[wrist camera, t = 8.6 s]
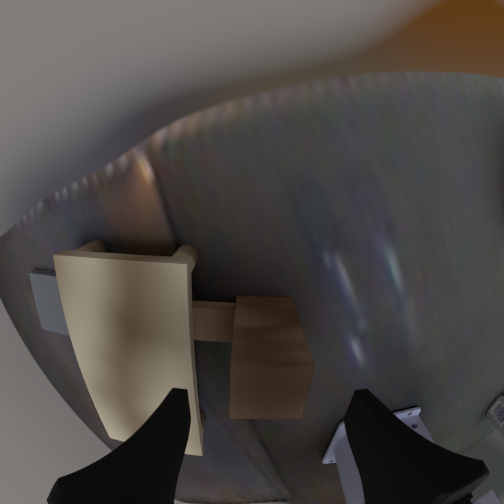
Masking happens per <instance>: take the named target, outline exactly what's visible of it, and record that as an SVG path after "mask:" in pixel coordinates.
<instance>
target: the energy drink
mask: <svg viewBox="0 0 504 504" xmlns="http://www.w3.org/2000/svg"><path fill="white" fill-rule="evenodd" d="M487 417H488V418H489V420H490V421H491V422H492V424H493V425H494V426H495V428H496V429H497V430H498V432H499V433H500V434H501V436H502V437H503V439H504V392H503V393H502V394H501V395H499V396H498V397H497V398H496V399H495V401H494V402H493V403H492V404H491V406H490V407H489V409H488V411H487Z"/></svg>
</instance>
